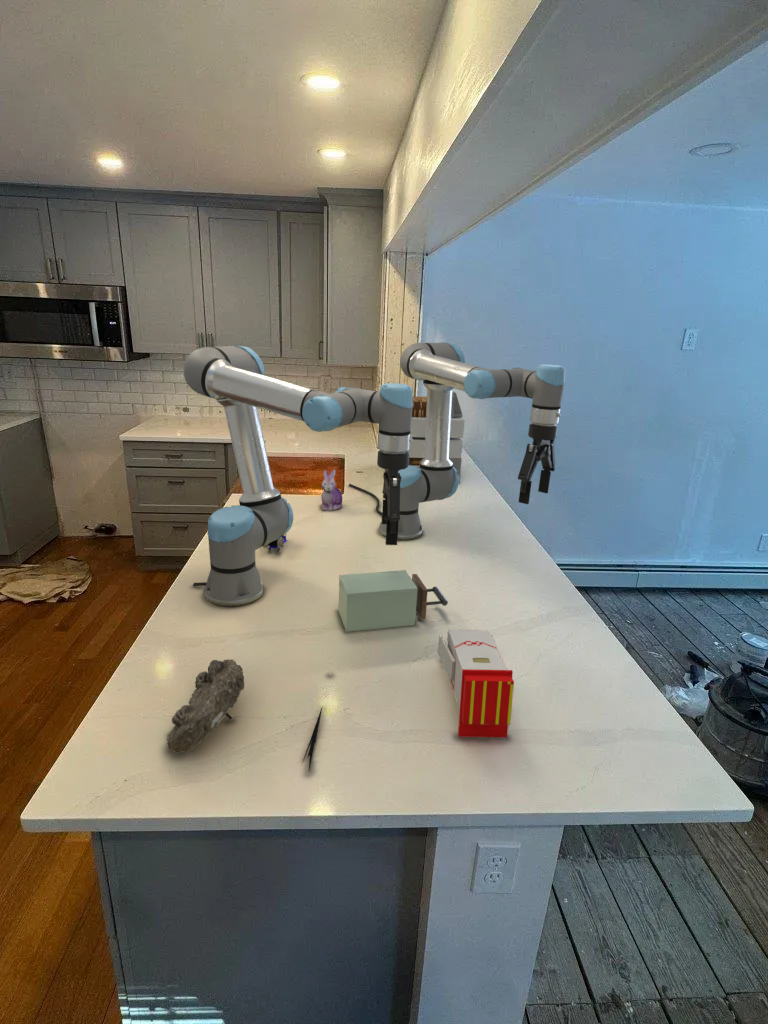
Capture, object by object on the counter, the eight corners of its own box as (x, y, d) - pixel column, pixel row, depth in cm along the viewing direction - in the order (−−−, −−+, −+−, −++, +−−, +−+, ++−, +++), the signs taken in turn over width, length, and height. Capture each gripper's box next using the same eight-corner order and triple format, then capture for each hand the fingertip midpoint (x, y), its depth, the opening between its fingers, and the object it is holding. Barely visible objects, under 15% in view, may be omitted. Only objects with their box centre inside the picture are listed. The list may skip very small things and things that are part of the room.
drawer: (435, 600, 153) (438, 572, 151) (447, 617, 145) (450, 587, 142) (355, 607, 148) (356, 578, 145) (362, 625, 140) (363, 595, 137)
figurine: (325, 512, 217) (325, 474, 211) (315, 504, 225) (315, 467, 220) (347, 509, 221) (348, 472, 216) (337, 501, 229) (337, 465, 224)
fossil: (192, 660, 117) (244, 628, 112) (224, 691, 120) (276, 661, 115) (142, 746, 98) (202, 712, 93) (182, 779, 101) (242, 748, 96)
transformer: (382, 463, 289) (386, 382, 275) (445, 464, 293) (451, 384, 279) (390, 482, 257) (394, 392, 243) (460, 483, 261) (468, 394, 247)
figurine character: (283, 559, 179) (290, 536, 192) (282, 538, 176) (289, 516, 189) (262, 558, 179) (270, 535, 192) (261, 537, 175) (269, 515, 189)
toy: (488, 613, 130) (523, 677, 101) (484, 667, 133) (517, 744, 104) (435, 612, 130) (455, 676, 101) (432, 666, 133) (451, 743, 103)
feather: (331, 679, 122) (336, 673, 122) (307, 777, 96) (313, 769, 95) (324, 675, 122) (329, 669, 121) (298, 772, 95) (304, 764, 95)
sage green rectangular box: (403, 605, 152) (405, 570, 149) (414, 625, 143) (417, 588, 139) (338, 610, 148) (339, 574, 144) (346, 631, 138) (347, 593, 135)
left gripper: (415, 465, 123) (409, 554, 130) (403, 439, 146) (399, 516, 154) (381, 464, 122) (377, 554, 130) (374, 438, 146) (371, 515, 153)
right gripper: (538, 432, 143) (527, 511, 150) (573, 420, 162) (562, 490, 169) (511, 427, 147) (501, 504, 154) (548, 416, 166) (538, 485, 173)
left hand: (389, 533), depth 142 cm, fingers open, 13 cm apart
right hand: (533, 497), depth 162 cm, fingers open, 13 cm apart
